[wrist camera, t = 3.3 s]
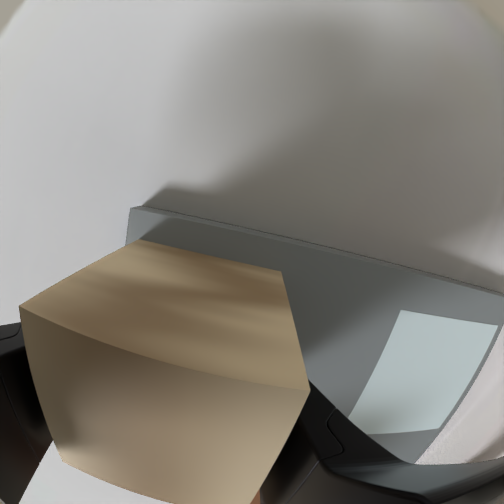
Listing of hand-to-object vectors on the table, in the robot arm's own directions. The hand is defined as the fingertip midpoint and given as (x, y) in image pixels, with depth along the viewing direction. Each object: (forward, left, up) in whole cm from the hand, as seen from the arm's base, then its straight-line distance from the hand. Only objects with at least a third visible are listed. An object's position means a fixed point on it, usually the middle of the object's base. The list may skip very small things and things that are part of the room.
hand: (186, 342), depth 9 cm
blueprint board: (-6, +5, -2) cm, 9 cm away
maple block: (0, 0, -2) cm, 2 cm away
